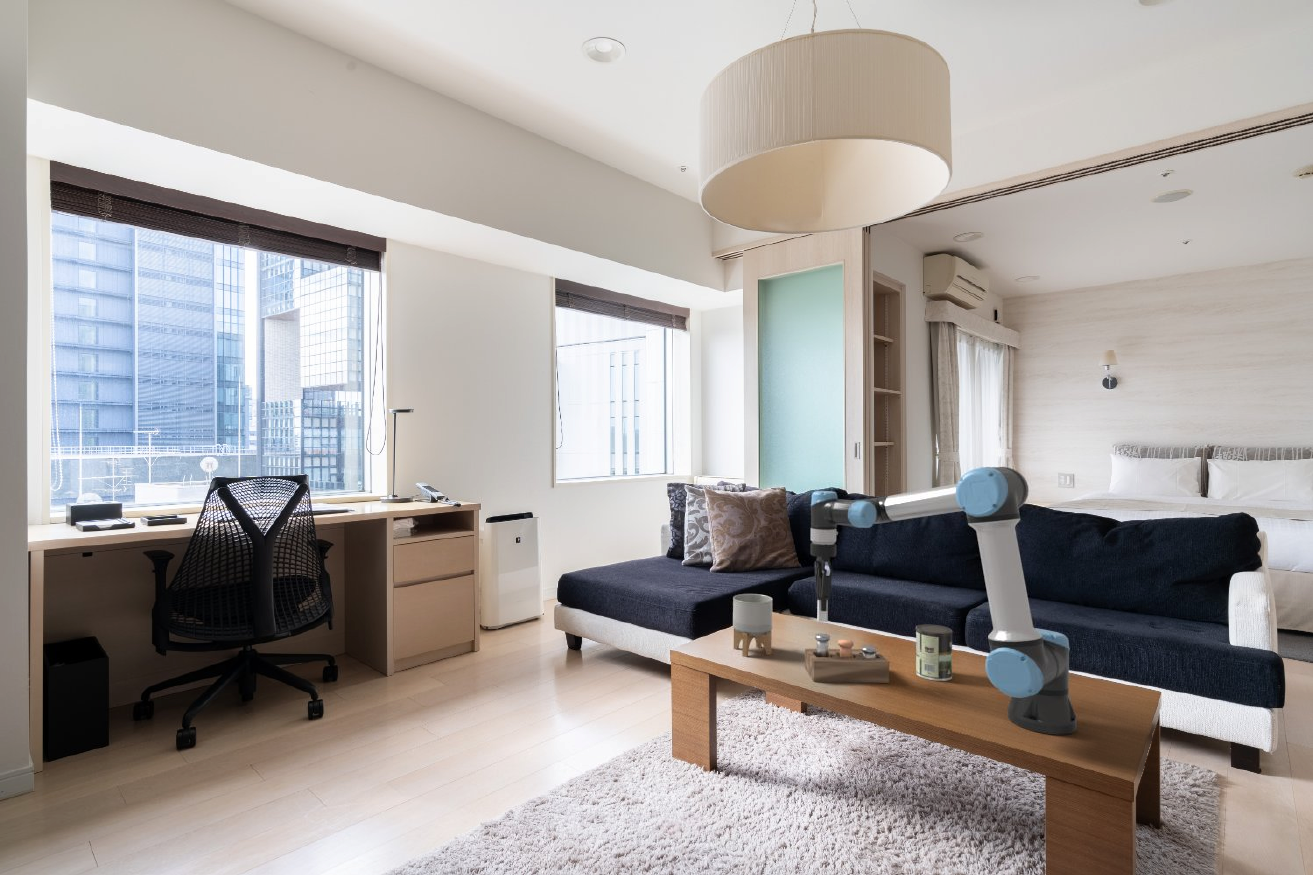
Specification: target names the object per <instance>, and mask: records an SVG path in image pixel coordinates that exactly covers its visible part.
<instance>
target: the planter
mask: <svg viewBox="0 0 1313 875" xmlns="http://www.w3.org/2000/svg"><path fill="white" fill-rule="evenodd" d="M732 598H733V599H732V600H733V601H732V606H733V607H732V610H733V611H732V629H733V650H738V649H739V648H740V644H741V641H742V653H741V654H742V655H741V656H742V657H744V658H747V657H749V650H750V647H751V646H750V645H751V642H752V641H753V639H754V640H755V648H759V649H761V648H762V646H763V647H764V650H765V655H766V656H771V655H772V639H773V638H772V630H773V598H772V597H771V596H768V595H765V594H758V593H742V594H737V595H736V594H735V595H734V596H733V597H732Z"/></svg>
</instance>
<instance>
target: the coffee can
mask: <svg viewBox="0 0 1313 875" xmlns="http://www.w3.org/2000/svg"><path fill="white" fill-rule="evenodd" d="M915 631H916V632H915V635H916V636H915V637H916V638H915V639H916V640H915V650H916V653H915V654H916V656H915V669H916V670H915V674H916V676H918V677H920V678H921V679H924V680H929V681H934V682H935V681H936V682H947V681H951V680H952V679H953V632H954V631H953V630H952V629H951V628H949V627H947V626H944V625H938V624H927V623H926V624H918V625H916V626H915Z"/></svg>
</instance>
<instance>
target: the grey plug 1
mask: <svg viewBox="0 0 1313 875" xmlns="http://www.w3.org/2000/svg"><path fill="white" fill-rule="evenodd" d="M814 639H815V640H816V649H817V657H827V658H828V649H829V641H831V635H830V634H827V633H816V634H814Z"/></svg>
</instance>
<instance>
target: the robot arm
mask: <svg viewBox="0 0 1313 875" xmlns="http://www.w3.org/2000/svg"><path fill="white" fill-rule="evenodd" d="M1028 496H1029V485H1028V481H1027V480H1026V478H1025V477H1024V476H1023V475H1022V474H1021V473H1020V472H1019V471H1017V469H1016V470H1015V469H1014V468H1011V467H1006V466H997V467H996V466H992V467H991V466H985V467H984V466H981V467H978V468H973V469H971V470H969V471H967V472H966V473H964V474H963V475H962V476H961V477H960V479H958V481H957V483H952V484H948V485H943V486H942V485H941V486H936V487H932V488H931V487H930V488H925V489H919V490H915V491H908V492H903V493H899V494H898V493H897V494H893V495H887V496H882V497H881V496H880V497H875V498H867V499H866V498H865V499H855V500H853V499H840V498H838V495H837V492H836V491H831V490H830V491H829V490H828V491H827V490H816V491H814V492H812V494H811V503H810V517H811V521H810V523H811V525H810V541H811V543H810V555H811V556H813V557H816V560H815V561H814V563H813V565H814V578H815V579H814V580H815V581H814V582H815V595H816V599H817V607H816V608H817V617H816V618H817V619H816V620H817V622H820V623H821V622H822V623H823V622H828V619H829V618H828V615H829V614H828V610H829V608H828V607H829V606H828V605H829V604H828V603H829V602H828V601H829V600H831V591H832V590H831V588H832V577H833V574H834V570H833V569H832V562H831V560H830V558H834V557H836V556H837V544H836V542H837V536H838V534H839V532H838V531H837V526H839V525H840V526H847V527H854V528H857V529H861V528H867V529H868V528H871V527H872V526H873V525H874V524H884V523H885V524H886V523H890V522H895V521H902V520H908V519H914V518H915V519H917V518H921V517H922V518H923V517H928V516H929V517H930V516H934V515H935V516H937V515H941V514H942V515H944V514H948V513H949V514H950V513H956V512H964V513H966V519H967V524H968V526H969V527H971V528H973V530H975V531H976V537H977V542H978V543H977V544H978V548H979V553H980V559H981V566H982V570H983V571H982V572H983V576H984V577H983V578H984V583H985V588H986V594H987V599H988V606H989V612H990V618H991V622H992V627H993V628H992V631H990V633H989V634H988V636H987V637H988V638H987V639H988V645H989V651H990V652H989V654H988V655H987V656H986V659H985V664H984V666H985V672H986V676H987V677H988V680H989V682H991V684H992V685H993V686H994V688H996V689H997V690H998V691H1000V692H1001V693H1003V694H1004V695H1006V696H1009V697H1011V698H1010V700H1009V703H1008V705H1007V719H1009V720H1010V721H1011V722H1012V723H1013V724H1015V725H1017V726H1019V727H1022V728H1023V729H1027V730H1029V731H1034V732H1038V733H1042V734H1049V735H1058V736H1059V735H1070V734H1073V733H1075V732H1076V731H1077V729H1078V726H1077V725H1078V719H1077V716H1076V713H1075V710H1074V707H1073V705H1072V701H1071V699H1070V693H1069V690H1070V689H1069V688H1070V686H1069V685H1070V684H1069V683H1070V682H1069V680H1070V678H1069V677H1070V676H1069V675H1070V670H1069V669H1070V650H1071V649H1070V643H1069V638H1068V637H1067V636H1066V635H1065V634H1063V633H1061V632H1057V631H1053V630H1048V629H1042V628H1036V627H1034V624H1033V619H1032V613H1031V608H1030V603H1029V598H1028V592H1027V586H1026V581H1025V575H1024V570H1023V566H1022V560H1021V555H1020V548H1019V543H1018V538H1017V531H1016V525H1017V524H1018V523H1019V522H1020V521H1021V515H1020V508H1021V507H1022V506H1023V505H1024V504H1025V503H1026V501H1027V500H1028Z"/></svg>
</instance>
